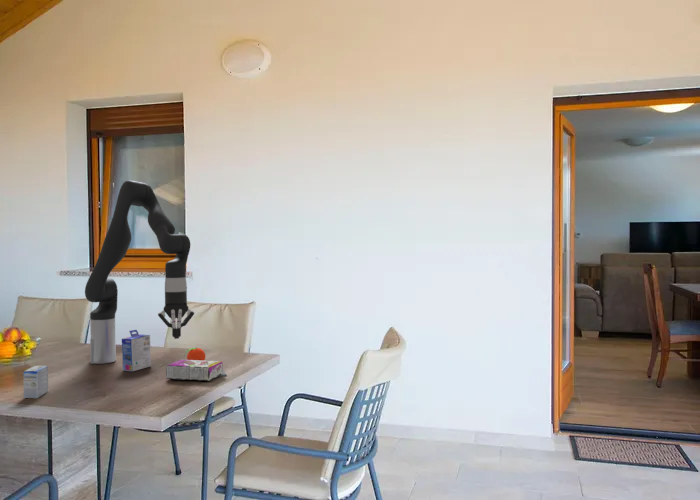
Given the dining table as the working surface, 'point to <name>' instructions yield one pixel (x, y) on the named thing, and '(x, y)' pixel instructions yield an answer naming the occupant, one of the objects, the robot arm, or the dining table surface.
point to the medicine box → (35, 381)
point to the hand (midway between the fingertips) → (176, 338)
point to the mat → (218, 376)
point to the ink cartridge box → (136, 352)
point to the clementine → (196, 354)
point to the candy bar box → (194, 370)
